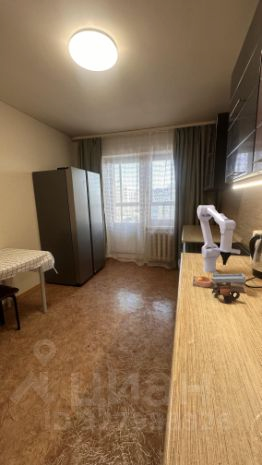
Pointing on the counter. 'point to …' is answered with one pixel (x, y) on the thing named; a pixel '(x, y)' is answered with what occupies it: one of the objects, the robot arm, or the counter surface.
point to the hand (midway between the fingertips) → (224, 264)
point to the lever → (229, 278)
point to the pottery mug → (226, 294)
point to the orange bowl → (205, 283)
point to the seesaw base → (219, 284)
